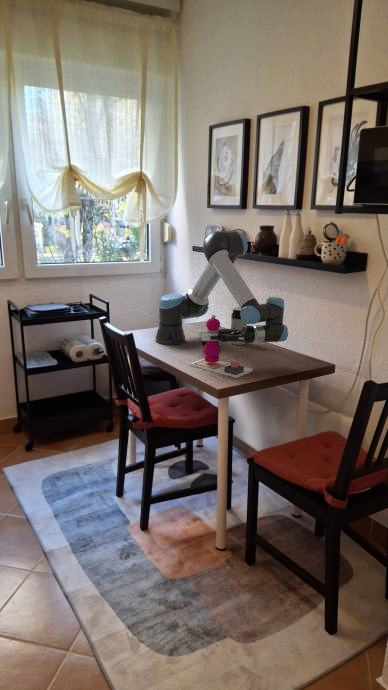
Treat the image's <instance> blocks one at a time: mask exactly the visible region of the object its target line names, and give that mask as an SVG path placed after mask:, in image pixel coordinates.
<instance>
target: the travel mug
mask: <svg viewBox="0 0 388 690" xmlns="http://www.w3.org/2000/svg"><path fill="white" fill-rule="evenodd" d="M240 312H241V308H240V306H234V307H232V312H231V319H230V321H231V322H230V329H232V328H234V329H239V330H242V328H243V326H248V324H246V323H244V322H243V321H242V320H241V316H240ZM230 344H232V345H236V346H243V345H246V344H247V343H244V342H242V341H230Z"/></svg>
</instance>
